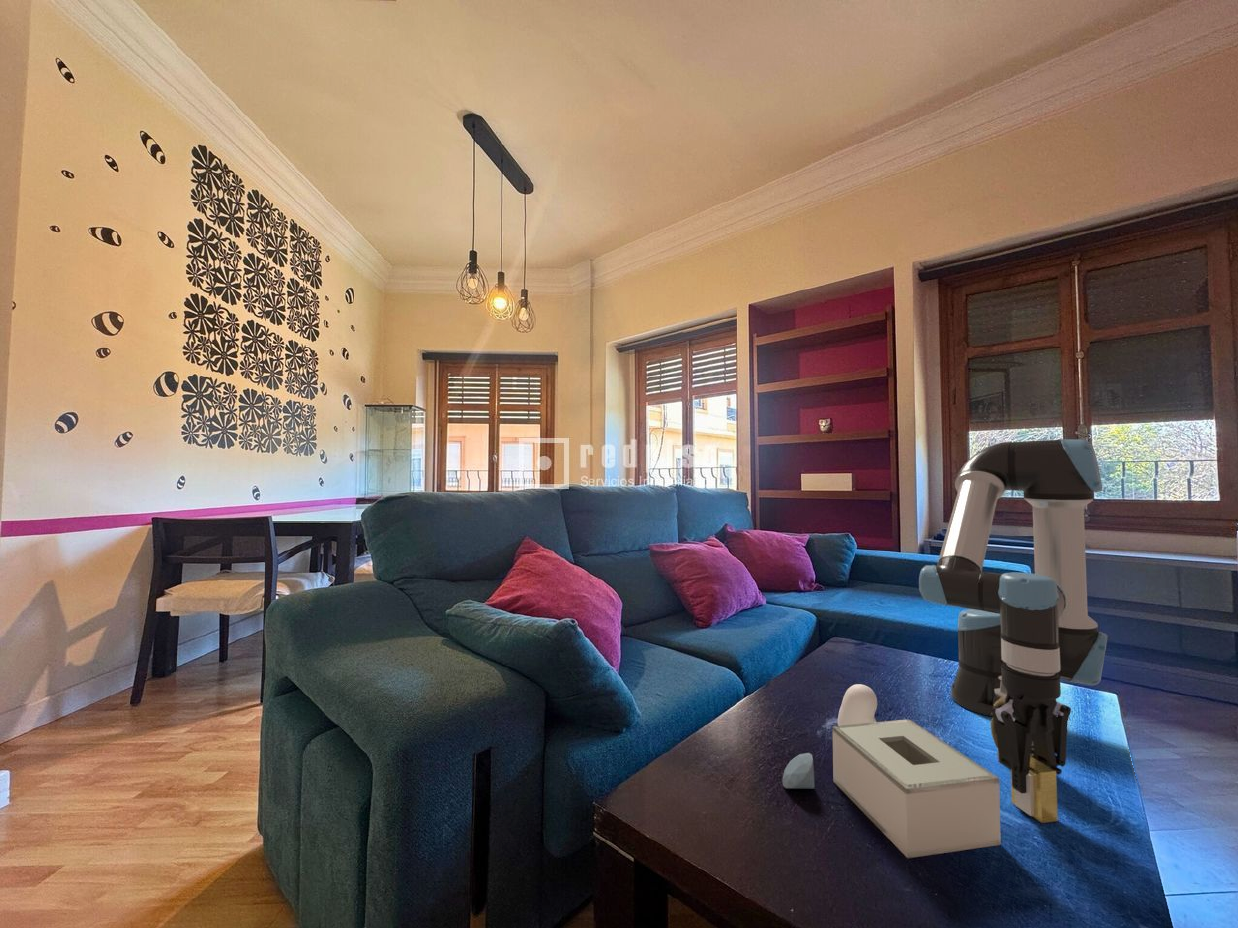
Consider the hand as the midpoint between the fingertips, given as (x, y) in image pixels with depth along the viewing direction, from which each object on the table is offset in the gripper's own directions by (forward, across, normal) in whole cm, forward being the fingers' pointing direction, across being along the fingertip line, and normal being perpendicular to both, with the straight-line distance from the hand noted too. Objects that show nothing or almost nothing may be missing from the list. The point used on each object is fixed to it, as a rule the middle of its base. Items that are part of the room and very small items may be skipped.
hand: (1033, 808), depth 79 cm
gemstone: (+1, +35, -13) cm, 37 cm away
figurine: (+1, +15, -24) cm, 28 cm away
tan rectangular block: (0, 0, 0) cm, 0 cm away
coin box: (0, +20, -4) cm, 21 cm away
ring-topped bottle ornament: (+1, -11, -12) cm, 16 cm away
